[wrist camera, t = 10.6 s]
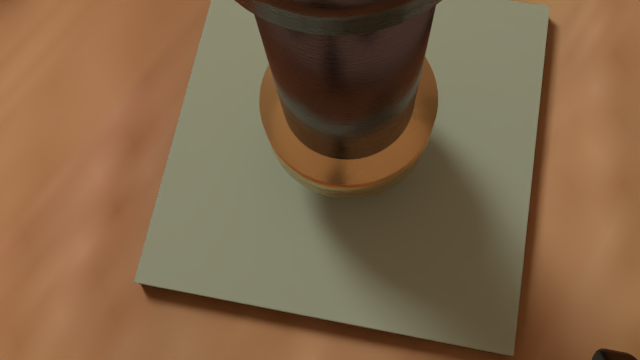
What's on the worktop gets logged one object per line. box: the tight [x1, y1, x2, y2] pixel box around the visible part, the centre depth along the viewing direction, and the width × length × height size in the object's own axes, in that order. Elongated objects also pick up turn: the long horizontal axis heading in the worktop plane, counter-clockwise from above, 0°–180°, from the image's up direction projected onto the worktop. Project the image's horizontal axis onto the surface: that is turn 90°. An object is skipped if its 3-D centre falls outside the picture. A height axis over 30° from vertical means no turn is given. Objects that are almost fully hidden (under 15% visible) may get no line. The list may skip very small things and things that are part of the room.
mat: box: [134, 0, 550, 356], centre depth 23 cm, size 13×13×1 cm
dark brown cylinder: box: [234, 0, 442, 199], centre depth 16 cm, size 5×5×13 cm
